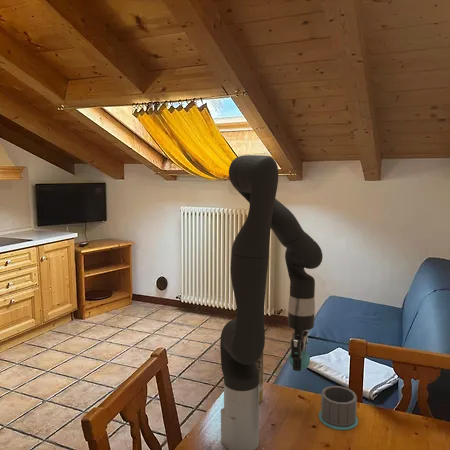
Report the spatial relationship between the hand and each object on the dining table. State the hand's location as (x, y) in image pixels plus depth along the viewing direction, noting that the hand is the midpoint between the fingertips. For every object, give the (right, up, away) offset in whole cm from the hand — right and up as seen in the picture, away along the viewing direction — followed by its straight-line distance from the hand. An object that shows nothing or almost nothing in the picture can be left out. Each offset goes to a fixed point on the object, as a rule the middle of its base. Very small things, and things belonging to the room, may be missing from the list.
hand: (299, 365), depth 126 cm
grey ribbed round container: (+11, -15, -2) cm, 18 cm away
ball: (0, +2, 0) cm, 2 cm away
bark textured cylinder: (-13, -13, +8) cm, 21 cm away
